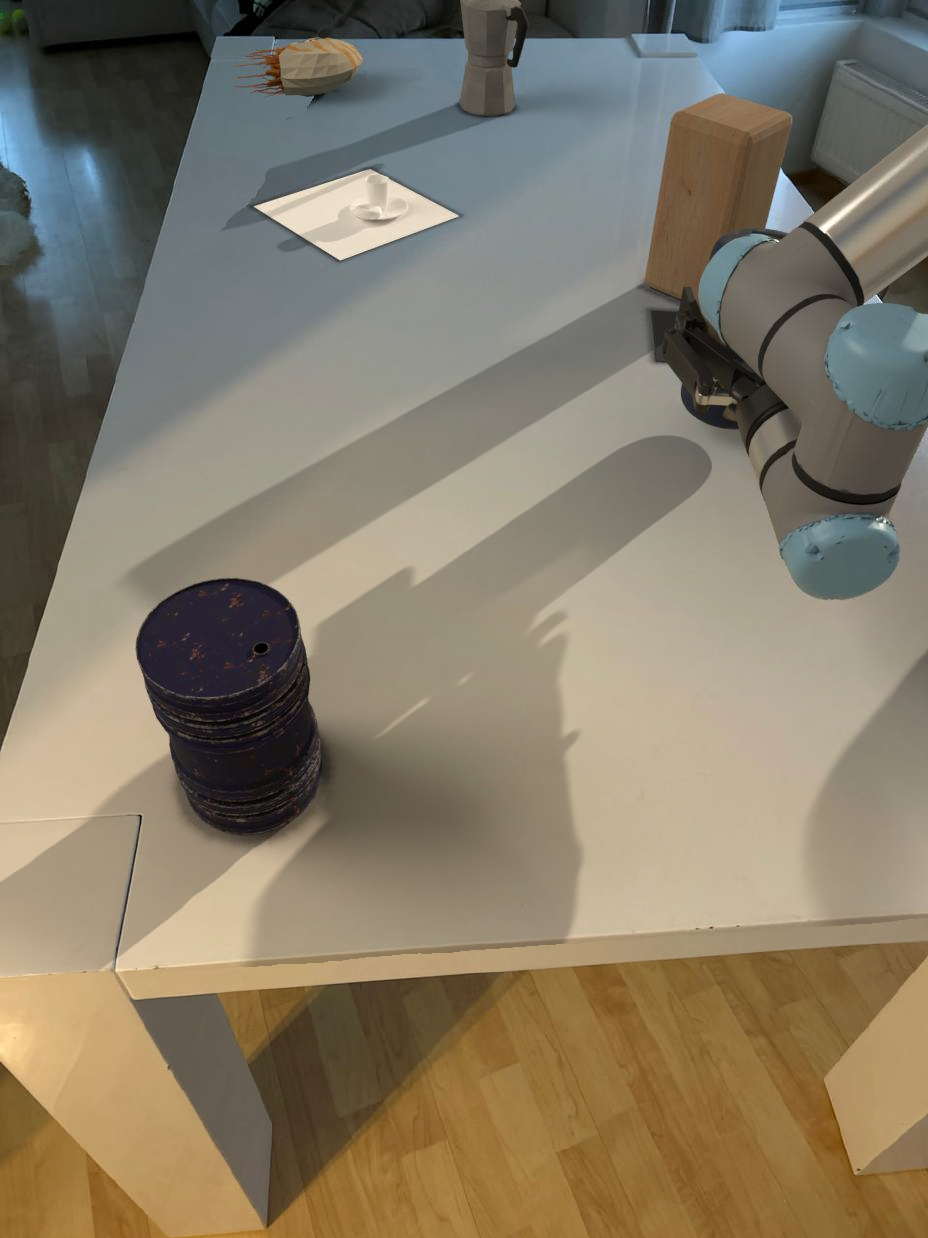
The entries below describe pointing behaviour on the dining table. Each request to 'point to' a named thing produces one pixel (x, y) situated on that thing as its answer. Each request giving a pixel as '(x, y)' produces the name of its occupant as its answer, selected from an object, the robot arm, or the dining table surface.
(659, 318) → the mat
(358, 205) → the teacup and saucer
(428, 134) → the dining table surface
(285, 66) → the nautilus shell
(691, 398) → the canister
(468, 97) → the coffeepot
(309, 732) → the navy cylinder
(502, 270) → the dining table surface
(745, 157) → the wooden block
